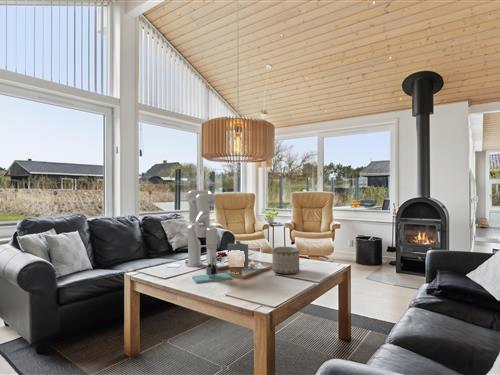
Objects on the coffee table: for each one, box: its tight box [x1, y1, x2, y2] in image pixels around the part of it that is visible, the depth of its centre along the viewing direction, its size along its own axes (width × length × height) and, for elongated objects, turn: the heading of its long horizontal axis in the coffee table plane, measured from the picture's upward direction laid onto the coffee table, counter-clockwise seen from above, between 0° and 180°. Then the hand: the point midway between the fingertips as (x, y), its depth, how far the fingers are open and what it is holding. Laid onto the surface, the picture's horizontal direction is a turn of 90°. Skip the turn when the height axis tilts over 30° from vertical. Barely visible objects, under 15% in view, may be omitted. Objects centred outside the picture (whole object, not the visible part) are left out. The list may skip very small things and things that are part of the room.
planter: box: [271, 246, 300, 275], centre depth 233 cm, size 19×19×16 cm
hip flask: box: [227, 240, 249, 268], centre depth 248 cm, size 16×4×20 cm, turn 83°
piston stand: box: [192, 272, 233, 284], centre depth 217 cm, size 12×24×6 cm, turn 112°
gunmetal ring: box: [205, 264, 219, 275], centre depth 217 cm, size 7×7×5 cm
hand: (211, 272), depth 217 cm, fingers closed on gunmetal ring, 7 cm apart
